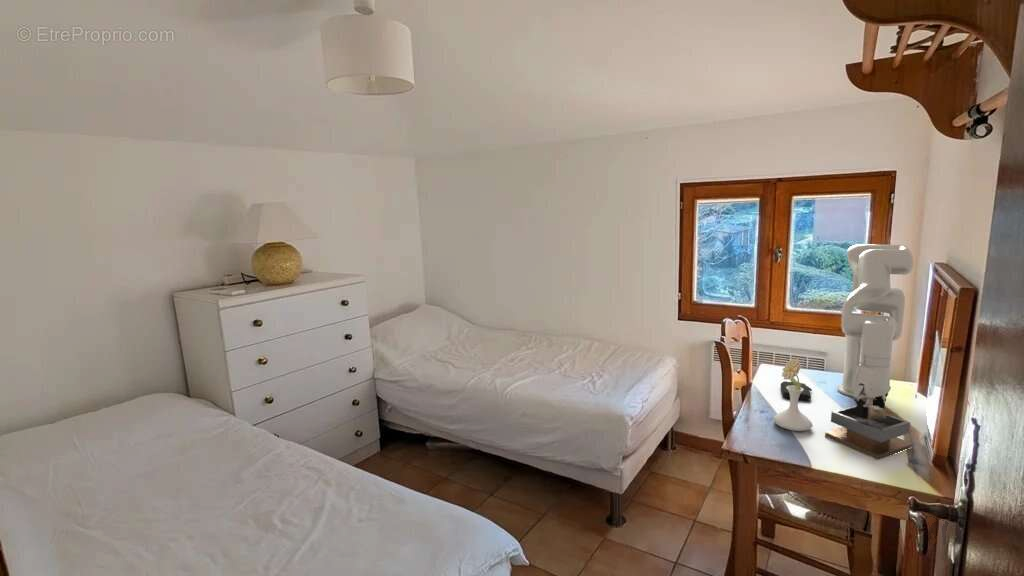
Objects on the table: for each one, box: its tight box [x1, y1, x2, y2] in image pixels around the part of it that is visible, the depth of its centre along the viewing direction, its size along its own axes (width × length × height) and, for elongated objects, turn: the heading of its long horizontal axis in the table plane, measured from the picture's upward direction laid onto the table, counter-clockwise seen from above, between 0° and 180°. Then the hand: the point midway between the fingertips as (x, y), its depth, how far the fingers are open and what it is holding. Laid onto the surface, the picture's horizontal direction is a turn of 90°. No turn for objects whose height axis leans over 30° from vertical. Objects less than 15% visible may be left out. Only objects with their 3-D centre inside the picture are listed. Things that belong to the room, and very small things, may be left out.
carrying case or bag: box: [780, 380, 813, 402], centre depth 188 cm, size 11×3×15 cm
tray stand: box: [824, 404, 914, 461], centre depth 149 cm, size 16×16×8 cm
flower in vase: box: [773, 358, 814, 432], centre depth 158 cm, size 13×11×25 cm
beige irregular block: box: [862, 394, 886, 421], centre depth 148 cm, size 9×6×10 cm
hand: (869, 414), depth 148 cm, fingers closed on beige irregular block, 6 cm apart
